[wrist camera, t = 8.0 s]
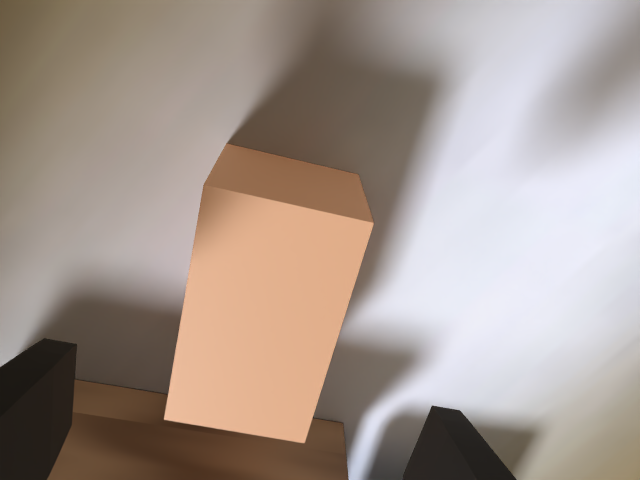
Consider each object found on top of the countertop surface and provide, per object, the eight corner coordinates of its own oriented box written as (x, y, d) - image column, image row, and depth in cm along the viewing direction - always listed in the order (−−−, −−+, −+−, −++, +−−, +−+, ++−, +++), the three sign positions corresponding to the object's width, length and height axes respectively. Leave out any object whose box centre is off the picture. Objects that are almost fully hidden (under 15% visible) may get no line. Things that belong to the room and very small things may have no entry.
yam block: (192, 336, 18) (163, 419, 15) (227, 141, 15) (203, 184, 12) (304, 357, 19) (304, 443, 15) (357, 173, 16) (374, 223, 12)
